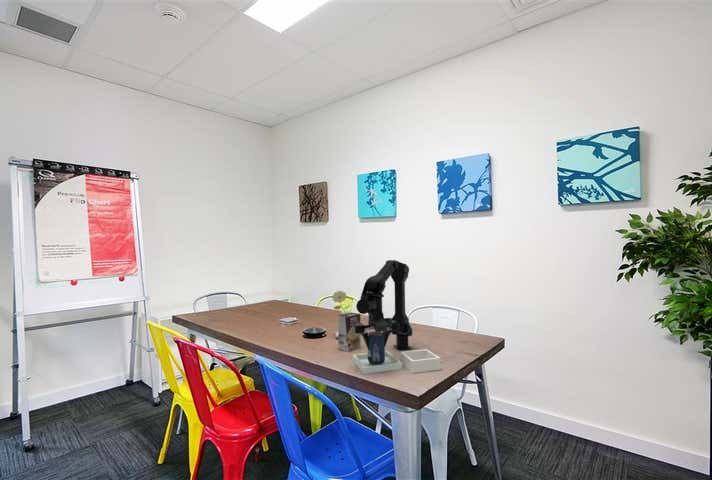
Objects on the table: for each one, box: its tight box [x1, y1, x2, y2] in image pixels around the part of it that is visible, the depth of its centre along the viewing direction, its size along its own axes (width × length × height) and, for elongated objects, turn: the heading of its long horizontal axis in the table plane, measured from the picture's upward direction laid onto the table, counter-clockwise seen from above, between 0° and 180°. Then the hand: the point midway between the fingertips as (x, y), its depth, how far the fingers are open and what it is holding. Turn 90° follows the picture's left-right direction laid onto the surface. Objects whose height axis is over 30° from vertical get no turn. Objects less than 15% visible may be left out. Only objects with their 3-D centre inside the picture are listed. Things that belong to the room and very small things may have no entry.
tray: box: [352, 350, 403, 375], centre depth 139 cm, size 16×16×2 cm
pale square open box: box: [399, 348, 442, 374], centre depth 136 cm, size 12×12×4 cm
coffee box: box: [337, 312, 362, 352], centre depth 162 cm, size 9×6×16 cm
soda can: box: [367, 331, 386, 365], centre depth 139 cm, size 7×7×12 cm
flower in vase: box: [331, 290, 351, 338], centre depth 181 cm, size 13×11×25 cm
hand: (376, 347), depth 139 cm, fingers closed on soda can, 7 cm apart
